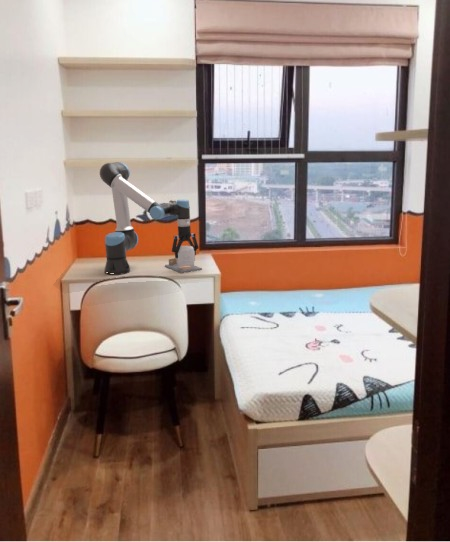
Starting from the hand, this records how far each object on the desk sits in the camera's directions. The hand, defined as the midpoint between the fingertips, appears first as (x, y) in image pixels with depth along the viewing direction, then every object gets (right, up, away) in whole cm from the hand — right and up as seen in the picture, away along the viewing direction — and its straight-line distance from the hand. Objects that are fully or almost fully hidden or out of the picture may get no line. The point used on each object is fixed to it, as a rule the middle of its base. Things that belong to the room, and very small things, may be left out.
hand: (185, 262), depth 317 cm
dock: (-2, -4, +4) cm, 6 cm away
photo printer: (0, -2, 0) cm, 2 cm away
